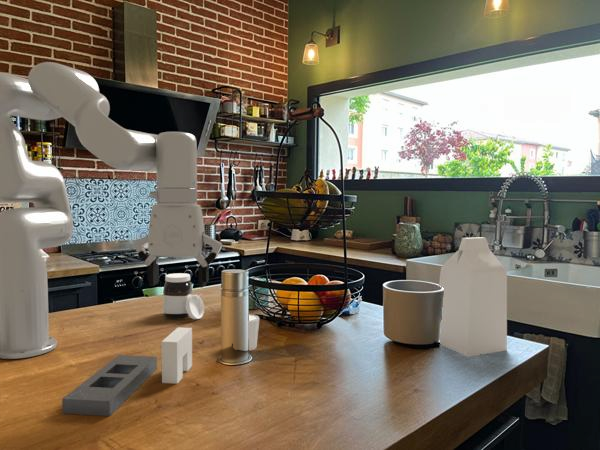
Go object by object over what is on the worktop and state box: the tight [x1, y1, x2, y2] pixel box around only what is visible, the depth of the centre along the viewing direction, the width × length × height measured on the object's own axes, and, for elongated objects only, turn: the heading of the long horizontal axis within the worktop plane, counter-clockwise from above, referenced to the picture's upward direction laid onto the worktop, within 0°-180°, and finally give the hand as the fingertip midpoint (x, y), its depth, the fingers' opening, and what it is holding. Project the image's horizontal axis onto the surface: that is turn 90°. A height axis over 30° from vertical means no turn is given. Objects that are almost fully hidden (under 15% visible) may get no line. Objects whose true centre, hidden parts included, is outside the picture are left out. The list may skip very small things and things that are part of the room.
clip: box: [161, 326, 193, 385], centre depth 94 cm, size 3×9×8 cm, turn 175°
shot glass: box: [248, 313, 260, 352], centre depth 110 cm, size 7×7×7 cm
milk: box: [438, 236, 508, 358], centre depth 113 cm, size 12×12×26 cm
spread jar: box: [162, 272, 205, 321], centre depth 134 cm, size 12×11×12 cm
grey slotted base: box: [61, 354, 158, 417], centre depth 87 cm, size 8×20×2 cm, turn 175°
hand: (178, 285), depth 93 cm, fingers open, 9 cm apart
